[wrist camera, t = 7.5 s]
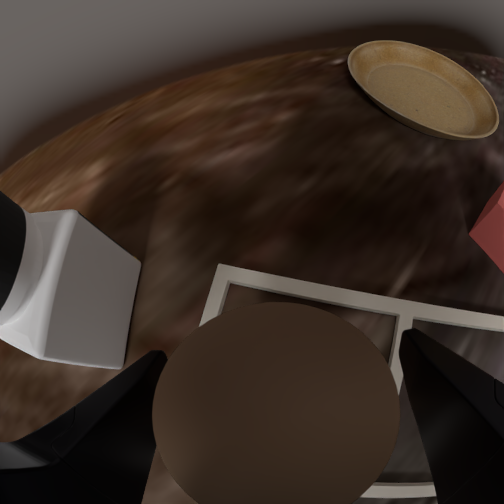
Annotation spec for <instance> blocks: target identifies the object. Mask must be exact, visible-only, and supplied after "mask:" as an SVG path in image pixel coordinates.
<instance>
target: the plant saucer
mask: <svg viewBox="0 0 504 504" xmlns="http://www.w3.org/2000/svg"><path fill="white" fill-rule="evenodd" d="M348 67H349V70H350V73H351V74H352V76H353V78H354V79H355V81H356V82H357V83H358V85H359V86H360V87H361V89H362V90H363V91H364V92H365V93H366V94H367V95H368V97H369V98H370V99H371V100H372V101H373V102H374V103H376V104H377V105H378V106H379V107H380V108H381V109H382V110H384V111H385V112H386V113H387V114H389V115H390V116H391V117H393V118H394V119H396V120H397V121H399V122H401V123H402V124H404V125H406V126H408V127H410V128H412V129H414V130H416V131H419V132H421V133H424V134H427V135H430V136H434V137H438V138H443V139H450V140H474V139H479V138H483V137H486V136H489V135H491V134H492V133H493V132H494V131H495V130H496V129H497V126H498V124H499V115H498V111H497V107H496V105H495V103H494V101H493V99H492V97H491V96H490V94H489V93H488V92H487V90H486V89H485V88H484V86H483V85H482V84H481V83H480V82H479V81H478V80H477V79H476V78H475V77H474V76H473V75H472V74H470V73H469V72H468V71H466V70H465V69H464V68H462V67H461V66H460V65H458V64H457V63H455V62H454V61H452V60H450V59H449V58H447V57H445V56H443V55H441V54H439V53H436V52H434V51H432V50H429V49H427V48H424V47H421V46H418V45H414V44H410V43H405V42H399V41H373V42H368V43H365V44H362V45H360V46H358V47H356V48H355V49H354V50H353V51H352V52H351V53H350V55H349V57H348Z"/></svg>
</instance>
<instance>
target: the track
mask: <svg viewBox="0 0 504 504" xmlns="http://www.w3.org/2000/svg"><path fill="white" fill-rule="evenodd" d="M230 283H233V284H238V285H242V286H246V287H251V288H256V289H260V290H265V291H269V292H274V293H279V294H284V295H288V296H293V297H298V298H303V299H308V300H313V301H318V302H323V303H328V304H333V305H338V306H344V307H349V308H354V309H360V310H365V311H371V312H376V313H382V314H388V315H393V316H397V317H396V324H395V330H394V336H393V342H392V347H391V353H390V358H389V363H388V366H389V368H390V370H391V372H392V374H393V377H394V380H395V383H396V385H397V390H398V395H399V392H400V387H401V383H402V379H403V372H402V367H401V363H400V359H399V346H400V341H401V335H402V332H403V331H404V330H406V329H412V322H413V319H417V320H423V321H430V322H436V323H443V324H449V325H456V326H463V327H470V328H477V329H484V330H492V331H500V332H504V317H503V316H496V315H490V314H484V313H478V312H472V311H466V310H460V309H454V308H448V307H442V306H436V305H430V304H425V303H419V302H413V301H408V300H402V299H397V298H391V297H386V296H380V295H375V294H369V293H364V292H359V291H353V290H348V289H343V288H338V287H333V286H327V285H322V284H317V283H312V282H307V281H302V280H297V279H292V278H287V277H282V276H277V275H272V274H267V273H262V272H257V271H252V270H248V269H243V268H238V267H233V266H228V265H224V264H218V267H217V270H216V273H215V276H214V279H213V283H212V286H211V289H210V292H209V296H208V299H207V302H206V305H205V309H204V312H203V315H202V318H201V322H200V325H199V327H200V326H201V325H203V324H204V323H206V322H207V321H209V320H210V319H212V318H214V317H216V316H218V315H220V314H221V313H222V309H223V306H224V302H225V299H226V296H227V292H228V289H229V286H230ZM430 496H436V492H435V487H434V483H433V482H421V483H381V482H374V483H373V485H372V486H371V487H370V488H369V489H368V490H367V491H366V492H365V493H364V494H363V495H361V496H360V497H368V498H415V497H430Z"/></svg>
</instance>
